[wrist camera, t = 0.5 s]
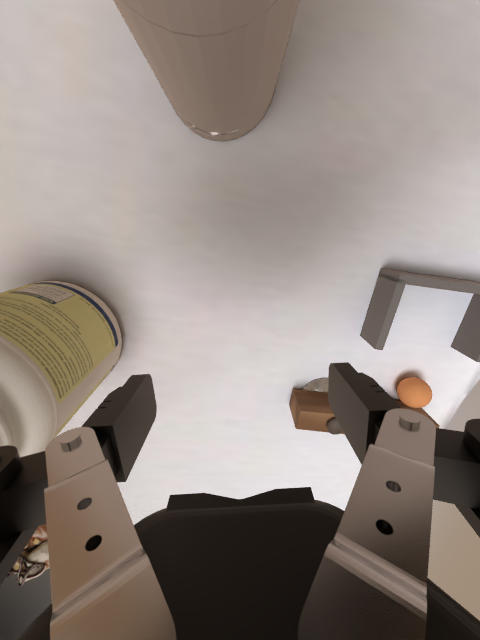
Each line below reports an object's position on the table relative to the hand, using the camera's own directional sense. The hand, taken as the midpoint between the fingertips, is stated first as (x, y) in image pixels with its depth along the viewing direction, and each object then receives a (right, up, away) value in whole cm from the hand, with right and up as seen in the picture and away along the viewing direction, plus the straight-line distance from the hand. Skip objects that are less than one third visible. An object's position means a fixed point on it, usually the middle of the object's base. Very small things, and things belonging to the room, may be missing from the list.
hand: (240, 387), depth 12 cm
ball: (+20, -5, +20) cm, 29 cm away
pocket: (+20, +4, +17) cm, 27 cm away
